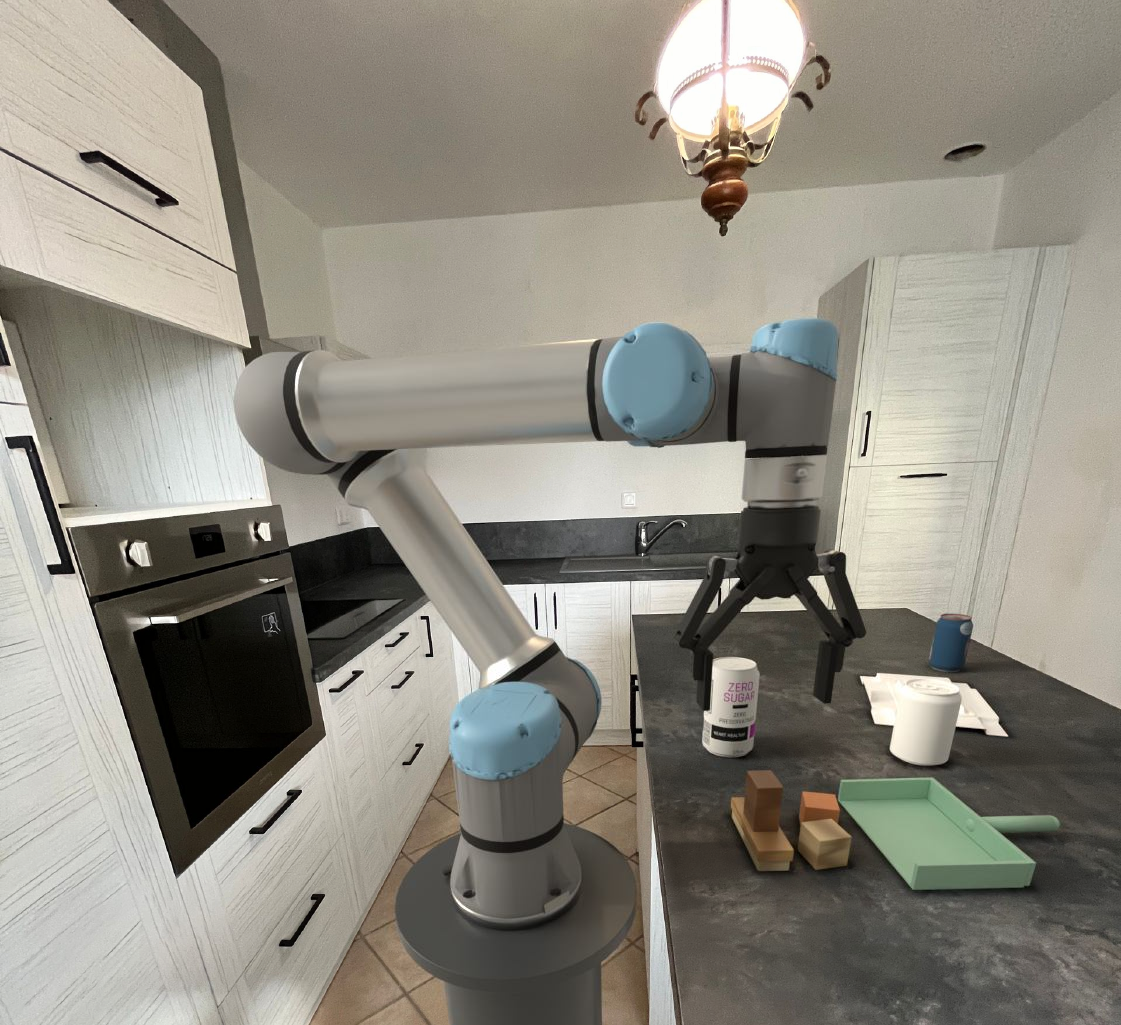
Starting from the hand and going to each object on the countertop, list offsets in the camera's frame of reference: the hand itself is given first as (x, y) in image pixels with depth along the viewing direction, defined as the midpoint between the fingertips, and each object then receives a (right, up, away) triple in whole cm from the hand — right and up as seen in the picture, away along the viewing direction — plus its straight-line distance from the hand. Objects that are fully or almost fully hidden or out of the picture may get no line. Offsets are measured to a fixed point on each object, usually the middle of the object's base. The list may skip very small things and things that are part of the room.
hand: (762, 703), depth 66 cm
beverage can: (+34, -9, +28) cm, 45 cm away
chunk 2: (+9, -19, +4) cm, 21 cm away
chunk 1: (+11, -16, +10) cm, 22 cm away
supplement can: (+5, -8, +33) cm, 34 cm away
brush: (+2, -18, +8) cm, 19 cm away
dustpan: (+27, -17, +7) cm, 33 cm away
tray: (+48, 0, +49) cm, 69 cm away
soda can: (+65, +7, +67) cm, 94 cm away
